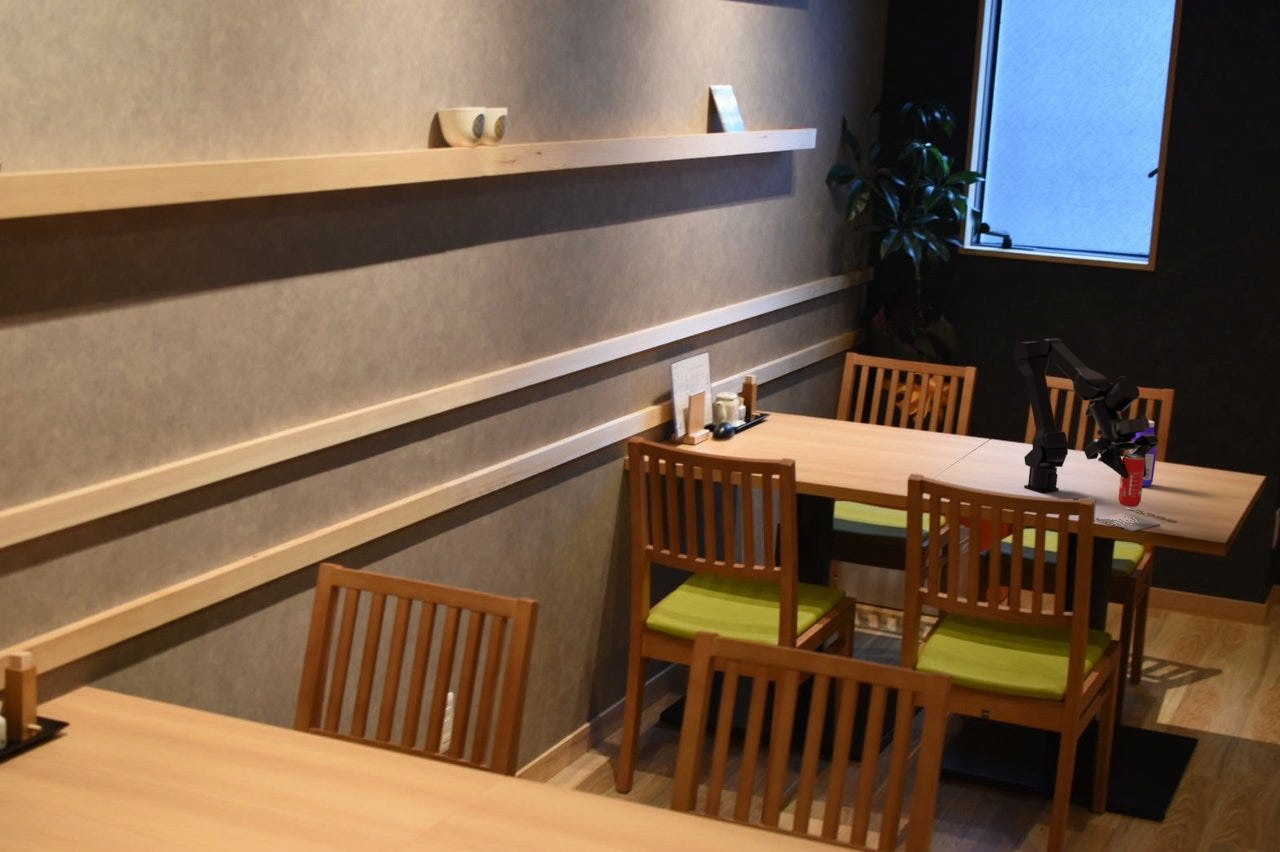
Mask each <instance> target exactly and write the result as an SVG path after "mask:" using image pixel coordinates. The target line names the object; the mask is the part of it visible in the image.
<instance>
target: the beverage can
mask: <svg viewBox="0 0 1280 852" xmlns="http://www.w3.org/2000/svg"><path fill="white" fill-rule="evenodd" d="M1122 461H1123V463H1124V465H1125V468H1126V470H1127V473H1128V478H1127V479H1124V478H1123V477H1122V476H1121V475H1120V478H1119V479H1120V480H1119V486H1118V487H1119V489H1118V497H1117V500H1118V502H1119V505H1121V506H1122V507H1130V508H1136V507H1139V504H1140V503H1141V502H1142V501H1141V500H1142V495H1143V494H1142V492H1143V487H1142V485H1143V476H1144V467H1145V460H1144V456H1142V455H1138V454H1128V453H1125V454H1123V457H1122Z"/></svg>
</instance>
